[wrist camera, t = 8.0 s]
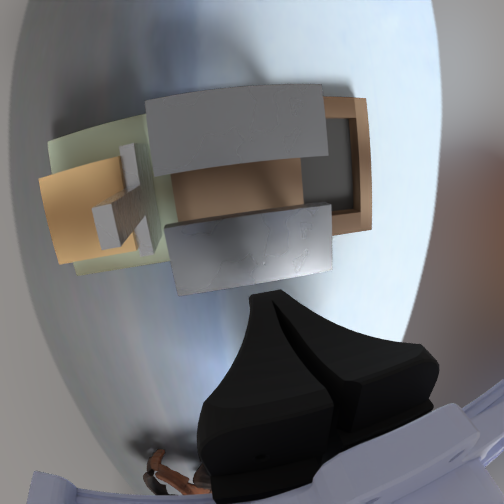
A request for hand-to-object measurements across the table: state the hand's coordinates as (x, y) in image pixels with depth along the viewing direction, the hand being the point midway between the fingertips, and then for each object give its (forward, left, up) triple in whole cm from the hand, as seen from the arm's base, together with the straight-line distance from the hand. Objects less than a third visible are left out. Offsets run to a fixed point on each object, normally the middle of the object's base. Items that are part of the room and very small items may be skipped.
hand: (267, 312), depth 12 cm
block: (+5, +8, -9) cm, 13 cm away
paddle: (+5, +5, -9) cm, 11 cm away
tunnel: (+5, 0, -9) cm, 10 cm away
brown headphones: (-29, +10, -11) cm, 33 cm away
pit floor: (+5, -7, -10) cm, 13 cm away
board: (+5, +1, -10) cm, 11 cm away
